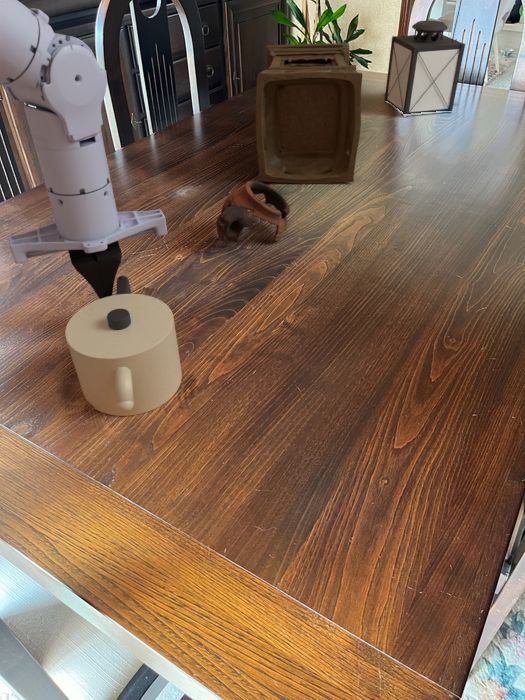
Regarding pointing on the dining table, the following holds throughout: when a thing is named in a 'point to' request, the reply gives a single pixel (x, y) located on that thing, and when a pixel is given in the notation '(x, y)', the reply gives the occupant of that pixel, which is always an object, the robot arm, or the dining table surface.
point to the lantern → (424, 69)
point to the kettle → (125, 352)
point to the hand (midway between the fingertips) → (107, 305)
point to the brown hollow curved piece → (244, 200)
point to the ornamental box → (308, 114)
